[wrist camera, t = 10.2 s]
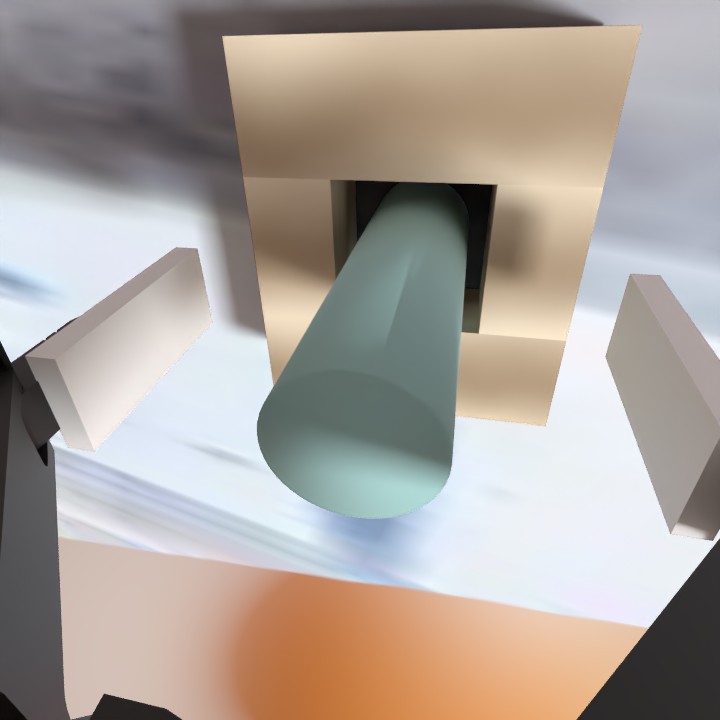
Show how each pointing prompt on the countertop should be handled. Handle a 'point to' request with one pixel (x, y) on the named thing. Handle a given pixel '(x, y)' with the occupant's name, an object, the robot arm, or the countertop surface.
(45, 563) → the robot arm
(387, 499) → the dowel
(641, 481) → the countertop surface
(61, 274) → the countertop surface
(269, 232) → the socket block
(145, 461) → the countertop surface
